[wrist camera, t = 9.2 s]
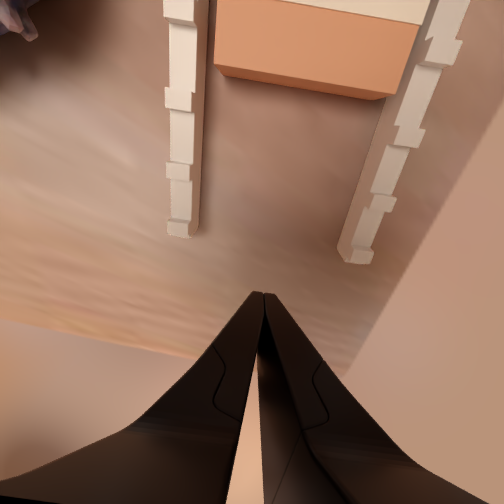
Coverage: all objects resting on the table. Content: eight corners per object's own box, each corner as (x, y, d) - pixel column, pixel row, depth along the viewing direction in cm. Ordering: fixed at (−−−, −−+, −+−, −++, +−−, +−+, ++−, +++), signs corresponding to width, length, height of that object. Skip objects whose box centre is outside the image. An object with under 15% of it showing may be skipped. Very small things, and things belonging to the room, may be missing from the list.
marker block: (418, -49, 13) (467, -105, 10) (371, 100, 17) (397, 94, 13) (234, -83, 13) (224, -151, 10) (222, 75, 16) (212, 62, 13)
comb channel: (510, -171, 11) (767, -483, 6) (353, 250, 21) (386, 296, 16) (185, -233, 11) (96, -632, 5) (180, 224, 21) (148, 261, 15)
